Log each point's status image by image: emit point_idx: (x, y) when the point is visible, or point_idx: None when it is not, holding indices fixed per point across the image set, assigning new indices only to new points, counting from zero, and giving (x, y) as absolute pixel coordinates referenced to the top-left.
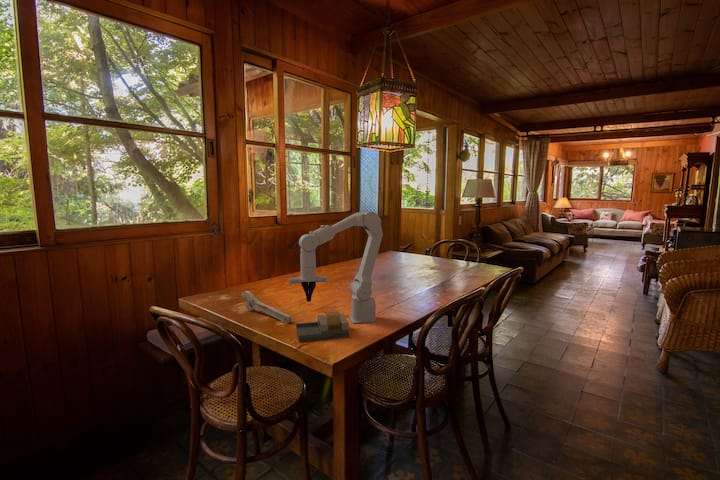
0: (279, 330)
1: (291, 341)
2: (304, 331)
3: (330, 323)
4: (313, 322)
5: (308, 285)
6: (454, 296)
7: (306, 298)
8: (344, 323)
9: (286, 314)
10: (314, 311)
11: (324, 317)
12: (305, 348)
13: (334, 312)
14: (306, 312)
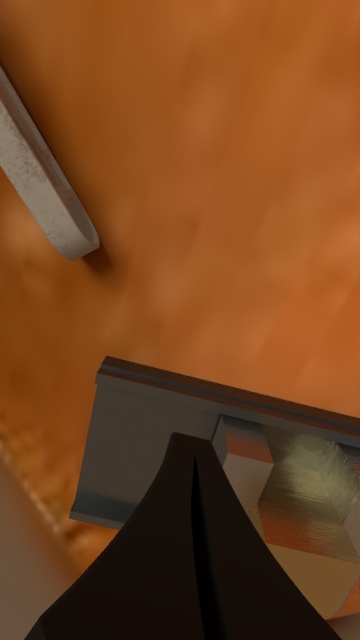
0: (11, 336)
1: (49, 479)
2: (121, 455)
3: None
4: (200, 405)
5: (221, 624)
6: None
7: (168, 447)
8: None
9: (56, 206)
10: (345, 83)
11: (252, 501)
12: (90, 552)
13: (319, 575)
14: (274, 76)
